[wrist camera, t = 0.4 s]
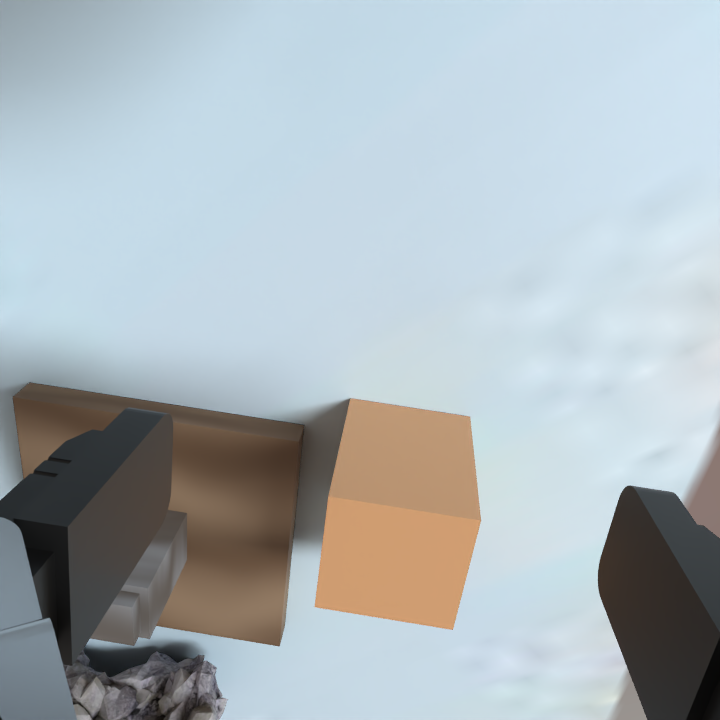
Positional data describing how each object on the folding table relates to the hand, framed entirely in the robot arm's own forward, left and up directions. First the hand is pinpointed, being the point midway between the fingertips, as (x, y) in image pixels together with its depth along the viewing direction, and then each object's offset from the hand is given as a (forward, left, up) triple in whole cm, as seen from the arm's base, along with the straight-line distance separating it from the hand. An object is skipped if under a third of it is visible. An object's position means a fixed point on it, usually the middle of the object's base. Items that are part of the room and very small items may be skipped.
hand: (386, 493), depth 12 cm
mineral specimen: (+30, -13, -18) cm, 37 cm away
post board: (+17, -11, -18) cm, 27 cm away
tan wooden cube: (+11, +1, -18) cm, 21 cm away
